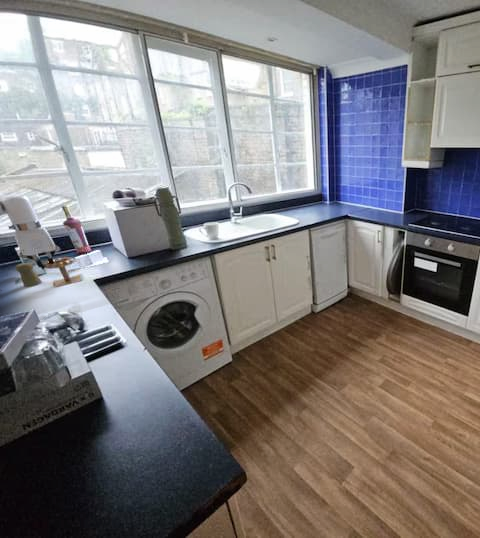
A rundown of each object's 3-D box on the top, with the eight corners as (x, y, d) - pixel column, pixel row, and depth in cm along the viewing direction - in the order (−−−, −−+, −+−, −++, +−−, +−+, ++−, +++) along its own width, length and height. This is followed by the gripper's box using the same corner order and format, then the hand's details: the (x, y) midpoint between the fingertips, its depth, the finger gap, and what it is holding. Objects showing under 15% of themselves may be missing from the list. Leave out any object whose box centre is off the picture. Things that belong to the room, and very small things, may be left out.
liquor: (95, 251, 177) (76, 204, 166) (83, 255, 170) (62, 207, 159) (86, 250, 178) (67, 204, 167) (73, 254, 172) (52, 207, 161)
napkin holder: (106, 257, 166) (102, 247, 164) (109, 261, 159) (105, 251, 157) (70, 265, 156) (66, 255, 154) (72, 270, 149) (68, 260, 147)
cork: (43, 281, 137) (32, 260, 132) (43, 285, 133) (31, 263, 128) (25, 286, 133) (13, 263, 129) (24, 290, 129) (11, 267, 125)
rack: (56, 289, 129) (44, 265, 125) (55, 283, 135) (44, 260, 130) (83, 282, 135) (72, 259, 130) (81, 277, 141) (71, 255, 136)
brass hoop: (44, 271, 125) (42, 266, 124) (43, 265, 131) (41, 261, 130) (75, 264, 131) (73, 260, 130) (73, 259, 138) (71, 255, 137)
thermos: (166, 247, 178) (148, 188, 164) (188, 243, 185) (172, 186, 171) (169, 251, 172) (151, 190, 158) (191, 246, 179) (175, 187, 165)
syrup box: (44, 271, 149) (31, 244, 144) (47, 273, 146) (33, 246, 140) (28, 275, 145) (14, 247, 139) (31, 277, 142) (16, 249, 136)
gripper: (-2, 232, 114) (21, 275, 121) (54, 223, 124) (72, 264, 131) (-1, 229, 118) (21, 270, 126) (54, 221, 129) (71, 260, 136)
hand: (47, 267), depth 128 cm, fingers closed on brass hoop, 2 cm apart
